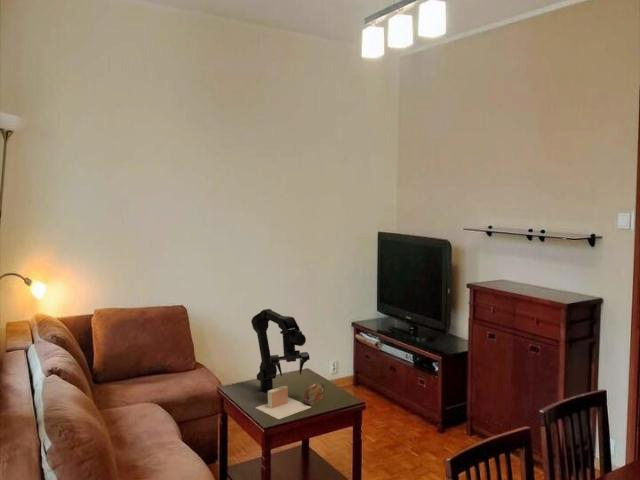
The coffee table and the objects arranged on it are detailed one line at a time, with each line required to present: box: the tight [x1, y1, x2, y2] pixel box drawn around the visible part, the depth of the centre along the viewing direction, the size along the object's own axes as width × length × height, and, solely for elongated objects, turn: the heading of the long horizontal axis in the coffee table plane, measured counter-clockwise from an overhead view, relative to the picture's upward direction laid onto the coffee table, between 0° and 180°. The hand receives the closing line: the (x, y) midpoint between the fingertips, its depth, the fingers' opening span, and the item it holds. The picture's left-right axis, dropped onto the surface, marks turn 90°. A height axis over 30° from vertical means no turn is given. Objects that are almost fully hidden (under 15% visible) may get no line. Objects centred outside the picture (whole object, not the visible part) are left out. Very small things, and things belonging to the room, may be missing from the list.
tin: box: [304, 382, 325, 406], centre depth 263 cm, size 15×3×8 cm, turn 148°
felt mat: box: [255, 396, 312, 420], centre depth 255 cm, size 18×20×1 cm
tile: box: [267, 385, 289, 409], centre depth 257 cm, size 3×10×8 cm, turn 133°
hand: (290, 375), depth 260 cm, fingers open, 9 cm apart
